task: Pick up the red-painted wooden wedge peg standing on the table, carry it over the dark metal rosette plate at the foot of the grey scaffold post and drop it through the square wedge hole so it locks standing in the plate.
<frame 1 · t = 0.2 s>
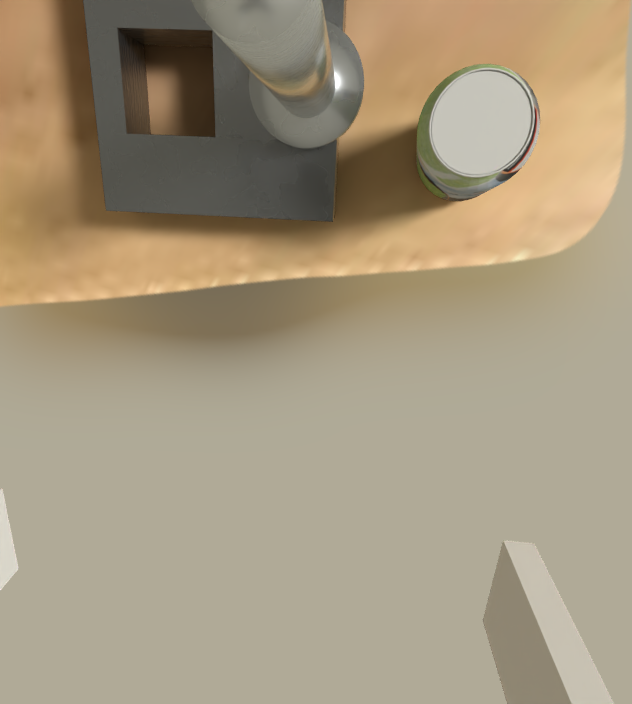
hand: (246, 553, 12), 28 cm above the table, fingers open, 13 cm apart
beverage can: (449, 150, 34), on the table
rosette plate: (229, 96, 34), on the table
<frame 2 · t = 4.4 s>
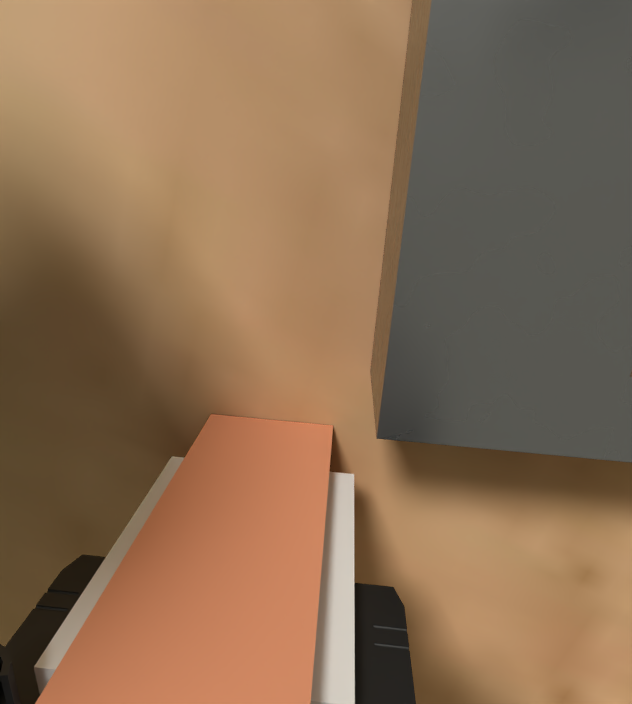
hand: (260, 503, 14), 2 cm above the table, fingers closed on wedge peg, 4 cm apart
wedge peg: (269, 472, 16), on the table, touching gripper
when the fingers open (5 cm above the table, at t = 9.1 s): wedge peg drops 3 cm, resting in rosette plate.
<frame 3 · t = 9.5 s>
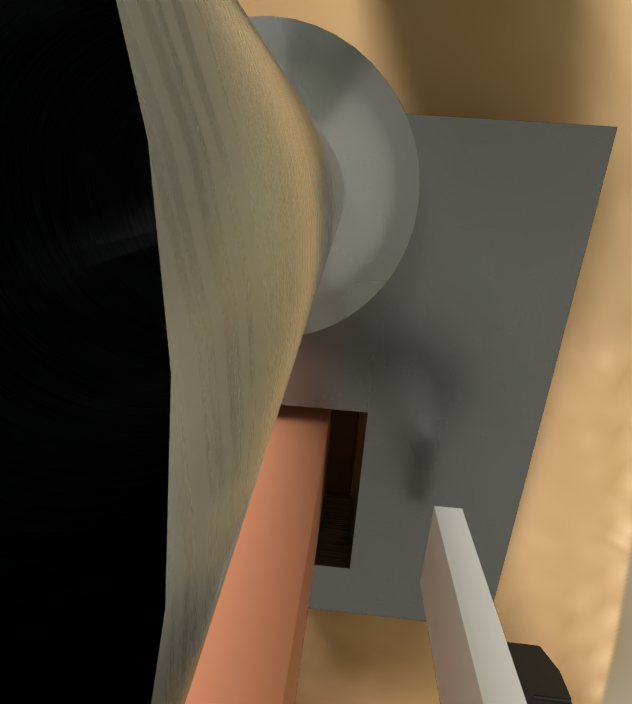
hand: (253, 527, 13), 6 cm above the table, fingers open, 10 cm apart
wedge peg: (280, 428, 19), resting in rosette plate
rosette plate: (285, 356, 18), on the table
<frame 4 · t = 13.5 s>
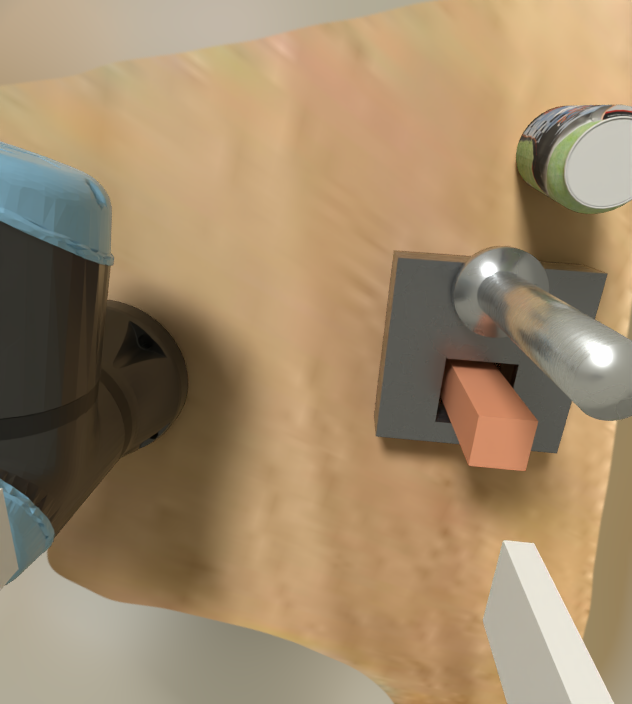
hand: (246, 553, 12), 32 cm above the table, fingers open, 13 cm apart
wedge peg: (464, 376, 44), resting in rosette plate
beverage can: (544, 159, 37), on the table
rosette plate: (471, 345, 43), on the table
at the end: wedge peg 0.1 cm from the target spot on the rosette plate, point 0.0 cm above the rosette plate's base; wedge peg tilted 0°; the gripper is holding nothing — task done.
